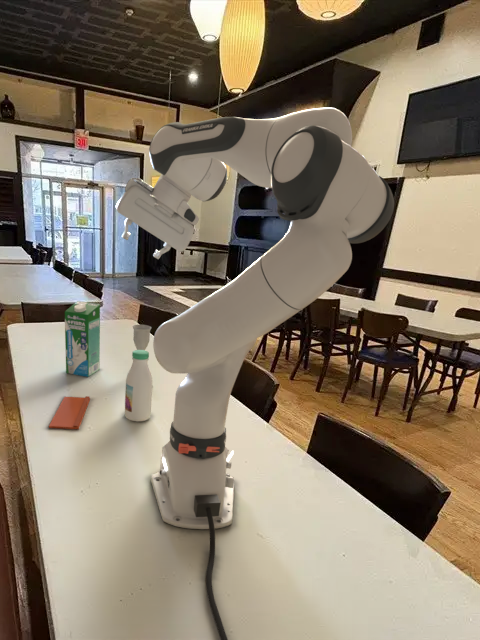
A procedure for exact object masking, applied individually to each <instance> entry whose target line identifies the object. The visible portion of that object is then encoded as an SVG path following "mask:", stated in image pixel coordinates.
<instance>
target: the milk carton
mask: <svg viewBox="0 0 480 640" xmlns="http://www.w3.org/2000/svg"><path fill="white" fill-rule="evenodd" d="M100 330H101V304H100V303H94V302H88V301H80V300H77V301H76V302H75V303H73V304H72V305H71V306H70V307H69V308H67V309H66V310H64V340H65V341H64V343H65V346H64V347H65V373H66V374H70V375H76V376H80V377H86V378H89V377H90V376H92V375H93V374H95V373H96V372H98V371H100V367H101V366H100V365H101V364H100V362H101V361H100V360H101V359H100V357H101V356H100V355H101V352H100V351H101V348H100V347H101V346H100V345H101V343H100V342H101V331H100Z"/></svg>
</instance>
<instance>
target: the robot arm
mask: <svg viewBox="0 0 480 640" xmlns="http://www.w3.org/2000/svg"><path fill="white" fill-rule="evenodd" d="M352 130H353V129H352V125H351V123H350V120H349V118H348V117H347V116H346V114H345V113H344V112H342V111H341V110H340V109H337V108H335V107H318V108H309V109H304V110H299V111H296V112H291V113H288V114H286V115H282V116H279V117H274V118H262V119H259V118H258V119H256V118H255V119H254V118H243V117H237V116H224V117H217V118H211V119H206V120H201V121H200V120H199V121H195V122H190V123H181V122H180V121H176V122H174V121H173V122H169V123H167V124H164V125H163V126H161V127H160V128H158V130H157V131H156V133H155V134H153V137H152V139H151V141H150V144H149V149H148V152H149V159H150V164H151V165H152V166H151V167H152V169H153V170H154V171H156V172H158V173H159V174H160V176H159V177H158V179H157V181H156V183H155V184H154V186H152V185H150V184H148V183H147V182H145V181H143V179H141V178H139V177H131V178H130V179H129V180H128V181H127V183H126V185H125V187H124V192H123V194H122V195H121V197H119V198H120V199H119V200H118V201H117V203H116V205H115V208H116V209H115V210H116V212H117V213H119V214H120V215H121V216H123V217H124V218H125V220H124V231H123V232H122V235H121V238H122V239H124V240H125V241H128V240H129V238H130V237H131V233H130V232H129V226H131V225H132V224H133V223H134V224H135V225H137V226H138V227H140V228H142V229H143V230H145V231H147V232H148V233H150V234H151V235H153V236H154V237H156V238H157V239H159V240H161V242H164V243H163V248H161V249H159V250H158V249H155V250H154V253H153V254H152V256H153V258H155V259H157V260H159V259H160V258H161V256H162V255H163V254H165V253H167V252H169V251H170V250H171V248H173V249H175V250H176V251H177V252H179V253H182V252H184V251H185V250H186V249H187V248H188V246H189V245H190V242H191V241H192V238H193V236H194V233H195V227H194V226H195V225H197V224H198V223H199V221H200V218H199V216H198V215H197V214H196V212H195V211H194V209H193V208H192V207H191V205H190V204H189V201H190V199H191V197H193V198H195V199H196V200H199V201H201V202H209V201H212V200H215V199H216V198H217V197H218V196H219V195H220V194H221V193H222V191H223V189H224V188H225V186H226V184H227V180H228V167H229V168H231V169H232V170H234V171H235V172H236V173H237V174H239V175H240V176H242V177H243V178H245V179H246V180H247V181H249V182H251V183H252V184H254V185H255V186H258V187H262V188H266V189H272V193H273V195H274V197H275V198H274V199H275V200H276V202H277V203H276V204H277V207H276V210H277V211H276V213H277V214H278V216H279V218H280V219H282V220H284V221H289V222H290V224H289V227H288V230H287V231H286V233H285V235H284V236H283V237H282V238H281V239H280V240H278V242H277V243H276V244H274V245H273V246H272V247H271V248H270V249H268V250H267V251H266V252H265V253H263V254H262V255H261V256H260V257H259V258H257V260H255V261H254V262H252V263H251V265H249V266H248V267H247V268H245V270H244V271H242V272H241V273H240V274H238V276H237V277H235V278H234V279H233V280H232V281H230V282H229V283H227V284H226V285H224V286H223V287H221V288H219V289H218V290H216V291H214V292H213V293H212V294H209V295H208V296H206V297H204V298H202V300H200V301H198V302H197V303H195V304H194V305H192V306H191V307H189V308H188V309H186V310H185V311H183V312H182V313H180V314H178V315H176V316H174V317H172V318H171V319H169V320H167V321H165V322H163V323H161V324H160V325H159V326H158V328H157V329H156V331H155V332H154V336H153V339H152V348H153V353H154V357H155V359H156V361H157V362H158V364H159V365H160V367H161V368H162V369H164V370H165V371H166V372H168V373H171V374H177V375H178V374H180V375H181V374H186V376H185V377H184V379H183V380H182V381H181V382H180V383H179V385H178V387H177V389H176V391H175V397H174V407H173V409H174V410H173V420H172V421H171V424H170V428H169V441H168V442H167V443H166V444H164V445H162V448H161V454H160V455H161V457H160V467H159V471H157V472H154V473H152V474H151V477H150V483H151V486H152V489H153V492H154V496H155V500H156V503H157V506H158V510H159V512H160V517H161V519H162V521H163V522H164V523H167V524H168V525H171V526H174V527H177V528H183V529H191V530H209V554H208V560H207V561H208V562H207V567H206V572H205V588H206V595H207V599H208V603H209V607H210V610H211V613H212V617H213V618H214V622H215V627H216V629H217V632H218V635H219V638H220V640H229V639H228V636H227V633H226V630H225V627H224V624H223V621H222V618H221V615H220V612H219V610H218V606H217V603H216V599H215V596H214V595H215V594H214V589H213V569H214V564H215V559H216V558H215V557H216V532H215V530H216V529H222V528H225V527H228V526H230V525H232V524H233V520H234V519H233V518H234V496H235V477H234V476H231V474H229V473H227V469H230V470H231V469H232V461H230V460H231V458H232V457H233V455H234V450H232V451H231V452H230V449H228V448H227V447H226V442H227V428H226V422H227V415H228V408H229V403H230V397H231V394H232V392H233V388H234V386H235V383H236V380H237V378H238V376H239V373H240V370H241V369H242V366H243V364H244V361H245V359H246V358H247V356H248V354H249V352H250V351H251V350H252V349H253V348H254V346H255V344H256V342H257V339H259V338H260V337H262V336H265V335H266V334H268V333H269V332H271V331H273V330H274V329H275V328H277V327H279V326H280V325H281V324H282V323H285V322H286V321H287V320H289V319H290V318H292V317H293V316H295V315H296V314H297V313H299V312H300V311H302V310H304V309H305V308H306V307H308V306H309V305H310V304H312V303H313V302H314V301H316V300H317V299H318V298H319V297H321V296H322V295H324V293H326V292H327V291H328V290H329V289H330V288H331V287H332V286H333V285H334V284H336V283H337V282H338V281H339V280H340V279H341V278H342V277H343V275H345V273H346V272H347V271H348V270H349V268H350V266H351V264H352V261H353V251H352V246H351V244H362V243H365V242H367V241H370V240H371V239H374V238H375V237H376V236H378V235H380V233H381V232H382V231H383V230H384V229H385V228H386V226H387V225H388V224H389V222H390V220H391V218H392V215H393V213H394V209H395V199H394V194H393V192H392V189H391V187H390V186H389V184H388V183H387V181H386V180H385V179H384V178H383V177H382V176H381V175H379V174H378V173H377V172H376V170H375V169H374V168H373V166H372V165H371V164H369V162H368V160H367V158H366V157H365V156H364V155H363V154H362V153H360V152H359V151H358V150H357V149H355V148H354V147H353V146H352V145H353V131H352ZM227 166H228V167H227ZM229 453H230V454H229Z"/></svg>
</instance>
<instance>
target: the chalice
mask: <svg viewBox="0 0 480 640" xmlns="http://www.w3.org/2000/svg"><path fill="white" fill-rule="evenodd" d="M132 329H133V336H132V337H133V343H134V346H135V348H136V349H135V350H145V351H146V349H147V347H148V346H149V343H150V339H151V337H150V336H151V331H152V326H150V325H147V324H134V325H132Z"/></svg>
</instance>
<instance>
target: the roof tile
mask: <svg viewBox="0 0 480 640" xmlns="http://www.w3.org/2000/svg"><path fill="white" fill-rule="evenodd" d="M90 401H91V397H90V396H88V395H87V396H85V397H80V396H63V399H62V401H61V402H60V404H59V406H58V408H57V410H56V411H55V414H54V415H53V417H52V419H51V421H50V423H49V424H48V429H60V430H61V429H62V430H80V427H81V424H82V422H83V419H84V417H85V414H86V411H87V410H88V406H89V404H90Z"/></svg>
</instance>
